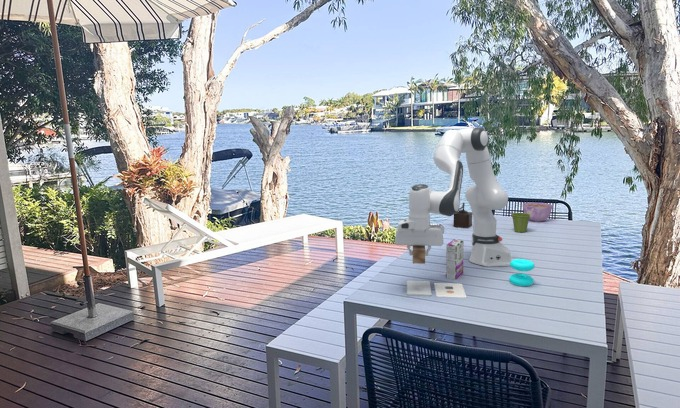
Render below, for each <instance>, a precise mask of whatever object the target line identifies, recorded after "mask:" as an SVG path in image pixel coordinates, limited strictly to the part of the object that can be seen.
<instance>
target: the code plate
mask: <svg viewBox="0 0 680 408" xmlns="http://www.w3.org/2000/svg"><path fill="white" fill-rule="evenodd" d="M433 284H434V290H435V296H436V297H440V298H467V295H466V291H465V288H464V286H463V283H453V282H451V283H449V282H434V283H433Z"/></svg>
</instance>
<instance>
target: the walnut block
mask: <svg viewBox="0 0 680 408" xmlns="http://www.w3.org/2000/svg"><path fill="white" fill-rule="evenodd" d="M412 251H413V255H412V264H419V265H420V264H424V265H425V264H426V256H425V251H426V246H418V245H412Z"/></svg>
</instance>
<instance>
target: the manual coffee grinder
mask: <svg viewBox="0 0 680 408" xmlns="http://www.w3.org/2000/svg"><path fill="white" fill-rule="evenodd" d="M465 204H466V203H465V202H462V206H461V207H459V210H458V211H457V212H456V213H455V214H454V215H453V225H452V226H453V227H454V228H459V229H460V228H461V229H469V228H471V227H472V226H473V214H472V211H471V212H470V211H467V210H466V209H465V206H466V205H465Z"/></svg>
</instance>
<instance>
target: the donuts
mask: <svg viewBox="0 0 680 408" xmlns="http://www.w3.org/2000/svg"><path fill="white" fill-rule="evenodd" d="M513 259H514V258H513ZM509 267H510V268H512V269H513V270H515V271H518V273H513V274H511V275H510V276H509V280H508V281H509V282H510V284H512V285H514V286H517V287H529V286H532V285H533V284H534V282H535V281H534V278H533V277H532V276H531V275H530V274H526V273H523V272H531V271H533V270H534V269H535V267H536V266H535V263H534V262H533V261H532V260H530V259H526V258H515V259H514V260H512V261H511V262H510V266H509ZM519 272H522V273H519Z"/></svg>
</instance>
